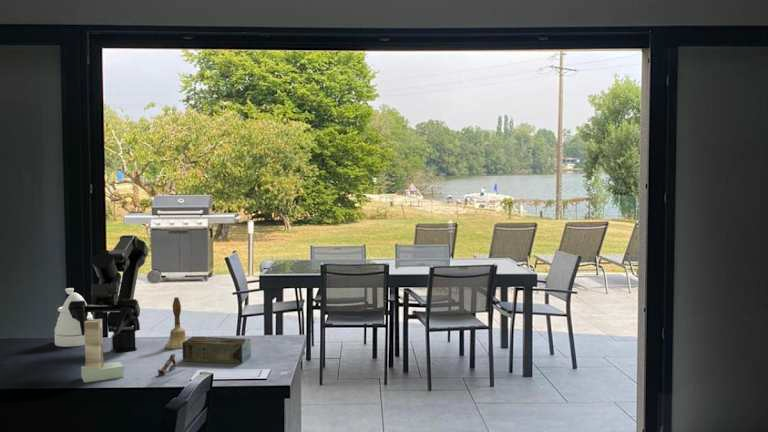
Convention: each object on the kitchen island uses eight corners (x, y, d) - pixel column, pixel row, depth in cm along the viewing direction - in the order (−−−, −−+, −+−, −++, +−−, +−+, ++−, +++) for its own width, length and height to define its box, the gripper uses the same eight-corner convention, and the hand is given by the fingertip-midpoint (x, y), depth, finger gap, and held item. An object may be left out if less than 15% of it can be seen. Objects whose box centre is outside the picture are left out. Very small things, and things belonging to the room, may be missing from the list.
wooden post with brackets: (180, 364, 202) (176, 351, 200) (167, 382, 195) (163, 370, 193) (174, 364, 202) (171, 351, 200) (161, 382, 195) (157, 369, 193)
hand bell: (161, 349, 223) (160, 299, 223) (169, 343, 232) (168, 295, 231) (187, 349, 224) (186, 299, 223) (194, 342, 232) (193, 295, 231)
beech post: (89, 366, 192) (88, 319, 191) (103, 365, 192) (102, 319, 192) (85, 369, 188) (84, 322, 188) (99, 369, 189) (98, 321, 188)
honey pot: (46, 345, 230) (44, 291, 229) (73, 336, 242) (71, 285, 241) (79, 347, 226) (77, 292, 225) (104, 338, 239) (103, 286, 238)
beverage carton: (242, 364, 205) (242, 342, 205) (181, 362, 208) (180, 340, 207) (251, 357, 213) (251, 336, 212) (192, 356, 216) (191, 334, 215)
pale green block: (120, 372, 197) (119, 361, 196) (123, 377, 192) (123, 366, 192) (81, 377, 191) (81, 366, 191) (84, 382, 187) (84, 371, 187)
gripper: (68, 273, 199) (57, 319, 189) (136, 271, 201) (128, 317, 191) (78, 295, 207) (67, 341, 197) (143, 293, 210) (136, 338, 199)
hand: (99, 334), depth 196 cm, fingers open, 9 cm apart
